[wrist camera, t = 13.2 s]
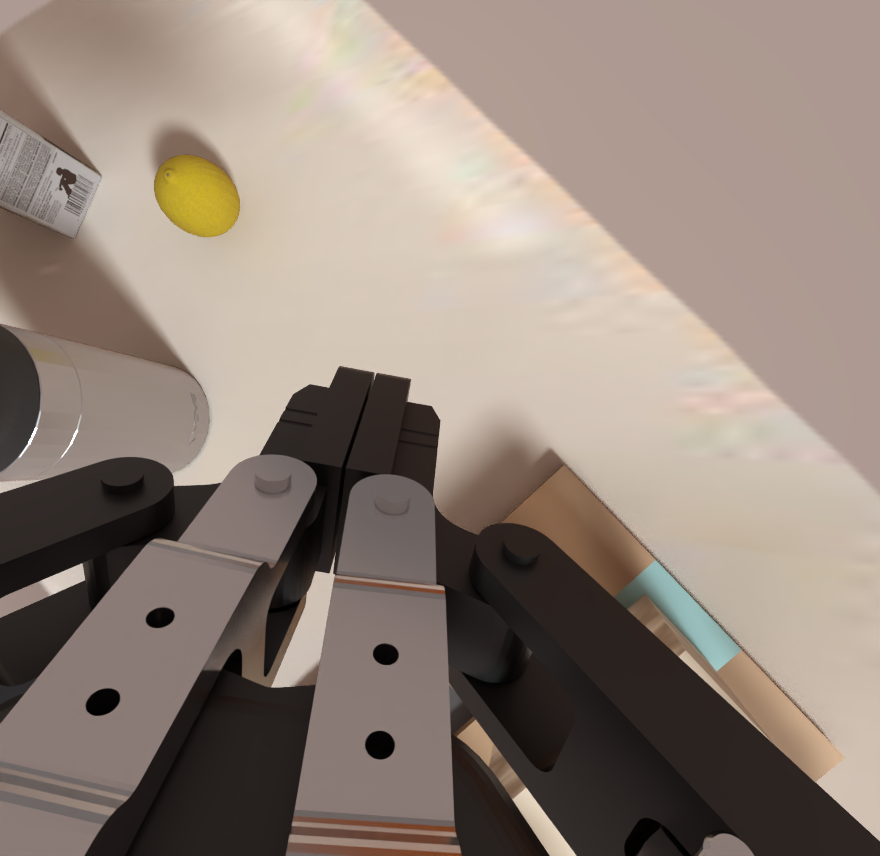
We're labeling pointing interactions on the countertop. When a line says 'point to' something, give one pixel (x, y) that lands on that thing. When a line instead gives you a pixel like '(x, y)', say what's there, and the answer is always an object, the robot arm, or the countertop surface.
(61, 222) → the grey snack box
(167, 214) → the lemon
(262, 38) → the countertop surface
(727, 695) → the birch block
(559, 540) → the trap deck
